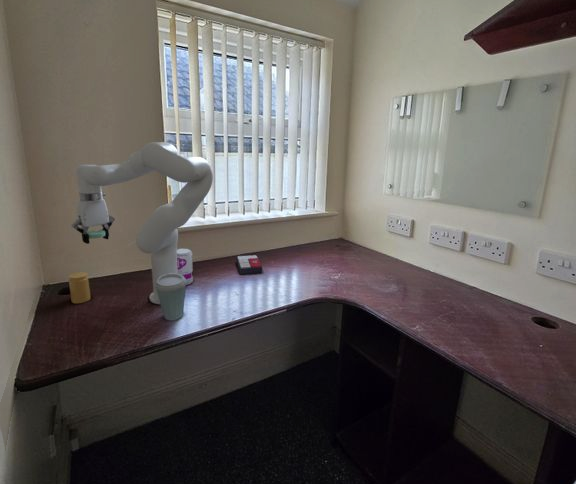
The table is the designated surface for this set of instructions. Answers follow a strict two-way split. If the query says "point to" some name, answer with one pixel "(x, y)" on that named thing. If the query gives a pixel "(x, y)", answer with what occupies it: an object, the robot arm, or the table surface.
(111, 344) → the table surface
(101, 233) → the lid
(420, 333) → the table surface
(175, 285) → the disposable coffee cup
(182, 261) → the supplement can
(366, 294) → the table surface
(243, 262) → the black product box
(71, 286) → the jam jar
